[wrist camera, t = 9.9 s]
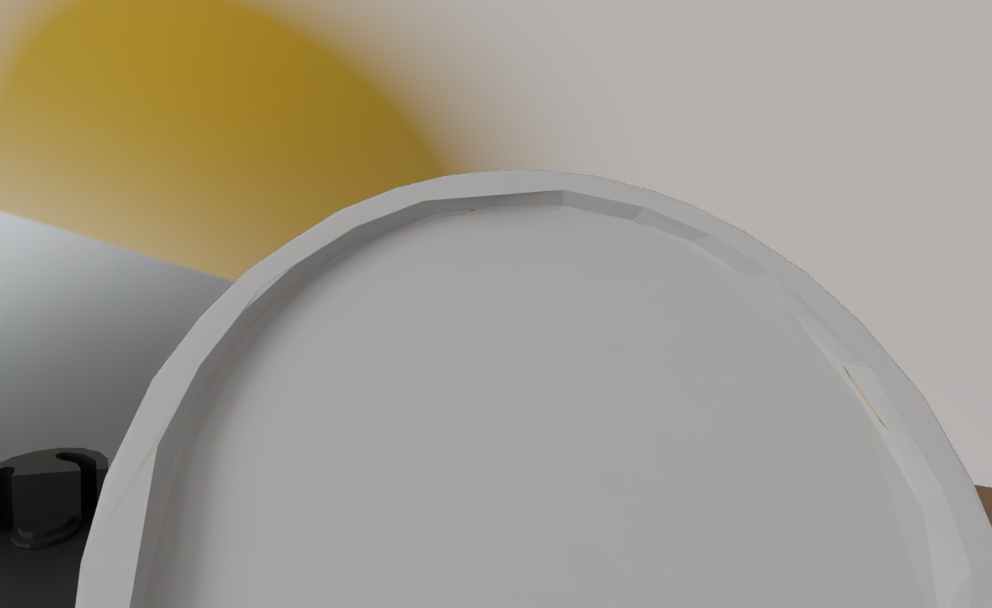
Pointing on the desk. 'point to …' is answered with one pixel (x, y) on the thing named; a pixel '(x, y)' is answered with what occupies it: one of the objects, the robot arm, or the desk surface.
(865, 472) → the disposable coffee cup
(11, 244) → the desk surface
